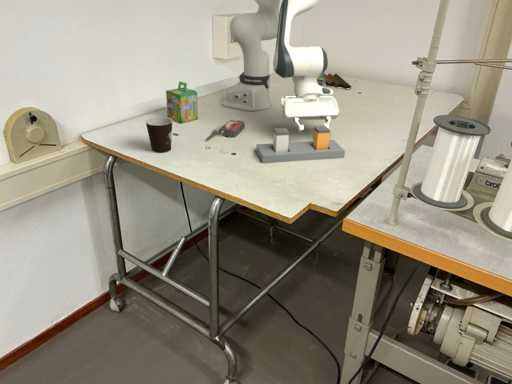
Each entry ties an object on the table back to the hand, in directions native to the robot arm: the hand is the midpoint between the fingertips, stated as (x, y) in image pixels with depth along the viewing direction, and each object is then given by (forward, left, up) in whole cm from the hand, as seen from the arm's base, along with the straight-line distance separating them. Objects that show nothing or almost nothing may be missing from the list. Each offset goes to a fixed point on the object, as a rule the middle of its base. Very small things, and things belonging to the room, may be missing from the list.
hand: (313, 130), depth 143 cm
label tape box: (-12, +68, -6) cm, 69 cm away
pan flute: (-12, +93, -7) cm, 94 cm away
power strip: (-3, -9, -6) cm, 11 cm away
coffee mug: (-48, -20, -6) cm, 52 cm away
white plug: (-9, -12, -6) cm, 16 cm away
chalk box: (-56, +10, -6) cm, 57 cm away
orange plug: (+3, -5, -6) cm, 9 cm away
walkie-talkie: (-33, 0, -6) cm, 33 cm away
